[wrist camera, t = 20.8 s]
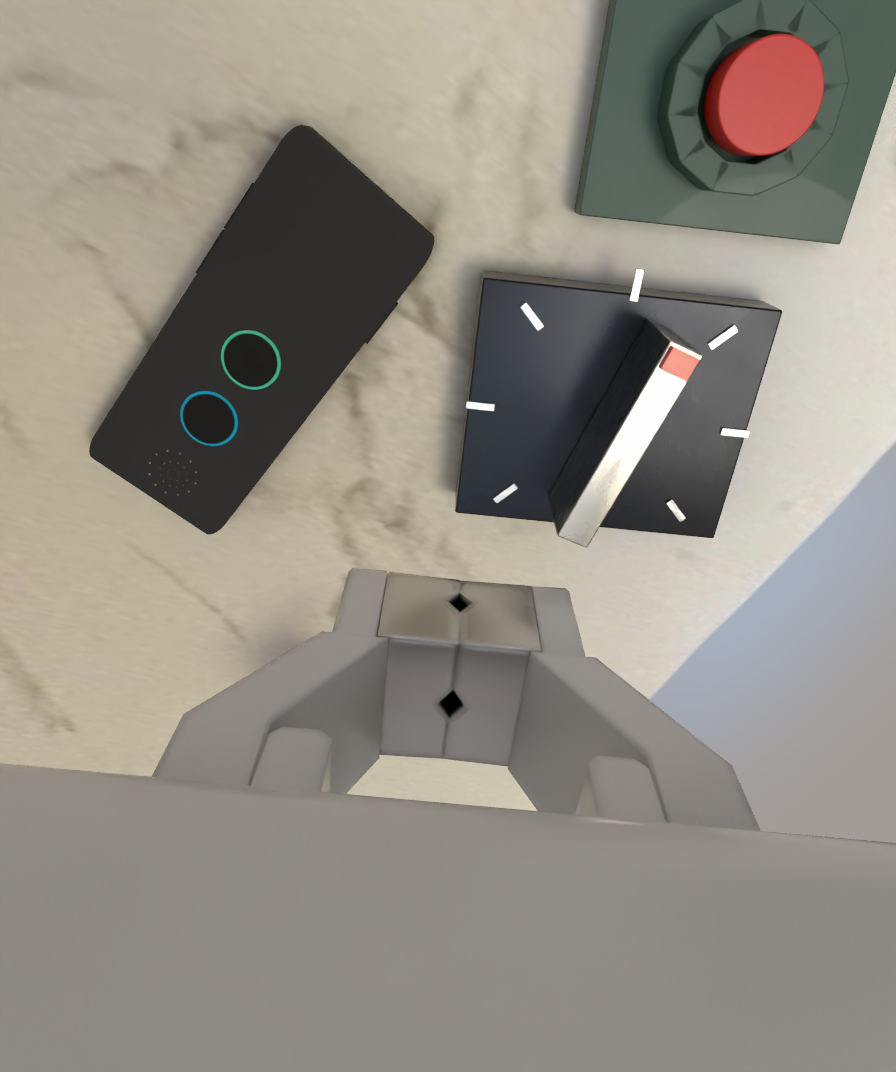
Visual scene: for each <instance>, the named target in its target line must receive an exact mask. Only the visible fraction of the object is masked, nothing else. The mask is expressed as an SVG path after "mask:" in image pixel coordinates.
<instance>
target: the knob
mask: <svg viewBox="0 0 896 1072" xmlns="http://www.w3.org/2000/svg"><path fill="white" fill-rule="evenodd" d="M702 357H703V355H702V354H701V353H700V352H698V351H697V350H696V349H695V348H694V347H692V346H691V345H690V344H689V343H688V342H686V341H685V340H684V339H683V338H681V337H680V336H679V335H678V334H677V333H675V332H674V331H671V330H669V329H667V328H665V327H663V326H661V325H659V324H657V323H655V322H653V321H651V320H649V319H647V320H646V322H645V323H644V325H643V327H642V329H641V331H640V332H639V334H638V336H637V338H636V339H635V341H634V343H633V345H632V347H631V348H630V350H629V352H628V354H627V356H626V357H625V359H624V361H623V363H622V365H621V366H620V368H619V370H618V372H617V373H616V375H615V377H614V379H613V381H612V382H611V384H610V386H609V388H608V390H607V391H606V393H605V395H604V397H603V399H602V400H601V402H600V404H599V406H598V407H597V409H596V411H595V413H594V415H593V416H592V418H591V420H590V422H589V424H588V425H587V427H586V429H585V431H584V433H583V434H582V436H581V438H580V440H579V441H578V443H577V445H576V447H575V449H574V450H573V452H572V454H571V456H570V458H569V459H568V461H567V463H566V465H565V467H564V468H563V470H562V472H561V474H560V475H559V477H558V479H557V481H556V483H555V484H554V486H553V488H552V490H551V492H550V493H549V495H548V500H549V504H550V508H551V512H552V516H553V520H554V524H555V528H556V532H557V535H558V536H559V537H562V538H564V539H567V540H569V541H571V542H574V543H576V544H579V545H581V546H583V547H587V546H588V545H589V543H590V542H591V540H592V538H593V537H594V535H595V533H596V532H597V530H598V528H599V527H600V525H601V523H602V522H603V520H604V519H605V517H606V515H607V514H608V512H609V510H610V509H611V507H612V505H613V504H614V502H615V500H616V499H617V497H618V496H619V494H620V492H621V491H622V489H623V487H624V486H625V484H626V482H627V481H628V479H629V477H630V476H631V474H632V472H633V471H634V469H635V468H636V466H637V464H638V463H639V461H640V459H641V458H642V456H643V454H644V453H645V451H646V449H647V448H648V446H649V445H650V443H651V441H652V440H653V438H654V436H655V435H656V433H657V431H658V430H659V428H660V426H661V425H662V423H663V422H664V420H665V418H666V417H667V415H668V413H669V412H670V410H671V408H672V407H673V405H674V403H675V402H676V400H677V398H678V397H679V395H680V394H681V392H682V390H683V389H684V387H685V385H686V384H687V382H688V380H689V379H690V377H691V375H692V374H693V372H694V371H695V369H696V367H697V366H698V364H699V362H700V361H701V359H702Z"/></svg>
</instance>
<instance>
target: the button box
mask: <svg viewBox="0 0 896 1072" xmlns="http://www.w3.org/2000/svg"><path fill="white" fill-rule="evenodd" d="M773 34H789V35H794V36H796V37H799V38H801V39H802V40H804V41H806V42H807V43H808V44H809V45H810V46H811V47H812V48H813V49H814V50H815V52H816V53H817V55H818V57H819V59H820V61H821V64H822V68H823V72H824V94H823V99H822V103H821V106H820V109H819V111H818V113H817V115H816V118H815V119H814V121H813V123H812V124H811V126H810V127H809V128H808V130H807V131H806V132H805V133H804V134H803V136H802V137H801V138H800V139H798V140H797V141H796V142H795V143H794V144H792V145H791V146H789V147H788V148H786V149H784V150H782V151H780V152H777V153H774V154H770V155H762V156H744V155H736V154H733V153H730V152H728V151H726V150H724V149H723V148H721V147H720V146H719V145H718V144H717V143H716V142H715V141H714V139H713V138H712V136H711V135H710V133H709V131H708V128H707V125H706V121H705V114H704V103H705V96H706V92H707V88H708V85H709V83H710V80H711V78H712V76H713V74H714V72H715V71H716V69H717V68H718V66H719V65H720V64H721V63H722V61H723V60H724V59H725V58H726V57H727V56H728V55H729V54H731V53H732V52H733V51H735V50H736V49H738V48H739V47H741V46H743V45H745V44H748V43H750V42H753V41H755V40H758V39H760V38H763V37H765V36H769V35H773ZM895 73H896V0H610V2H609V8H608V14H607V20H606V26H605V32H604V38H603V44H602V50H601V56H600V62H599V68H598V74H597V80H596V86H595V92H594V98H593V104H592V110H591V116H590V122H589V128H588V134H587V140H586V146H585V152H584V158H583V164H582V170H581V176H580V182H579V188H578V194H577V200H576V206H575V212H576V213H577V214H580V215H585V216H594V217H603V218H612V219H620V220H629V221H638V222H647V223H656V224H665V225H673V226H682V227H691V228H700V229H709V230H718V231H726V232H735V233H744V234H753V235H762V236H771V237H779V238H788V239H797V240H806V241H815V242H823V243H832V244H840V242H841V239H842V236H843V233H844V230H845V227H846V224H847V221H848V218H849V215H850V212H851V208H852V205H853V202H854V199H855V196H856V193H857V190H858V187H859V184H860V181H861V178H862V175H863V172H864V169H865V166H866V162H867V159H868V156H869V153H870V150H871V147H872V144H873V141H874V138H875V135H876V132H877V129H878V126H879V123H880V119H881V116H882V113H883V110H884V107H885V104H886V101H887V98H888V95H889V92H890V89H891V86H892V83H893V80H894V77H895Z"/></svg>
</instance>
